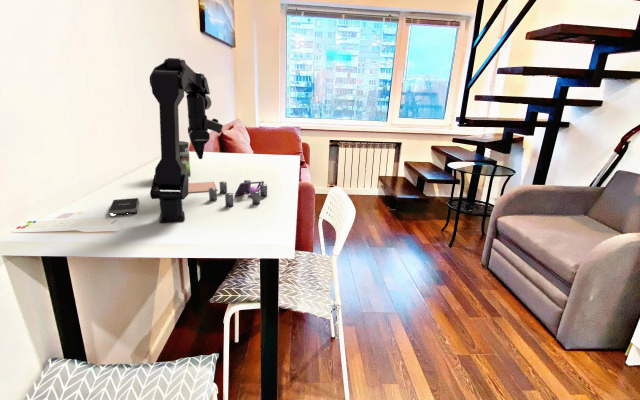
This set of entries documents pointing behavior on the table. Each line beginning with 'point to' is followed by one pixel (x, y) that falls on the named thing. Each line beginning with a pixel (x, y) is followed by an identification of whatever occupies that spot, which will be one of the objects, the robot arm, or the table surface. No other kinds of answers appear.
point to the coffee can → (185, 155)
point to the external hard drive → (124, 206)
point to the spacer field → (229, 196)
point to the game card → (244, 186)
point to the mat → (200, 187)
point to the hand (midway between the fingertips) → (199, 156)
